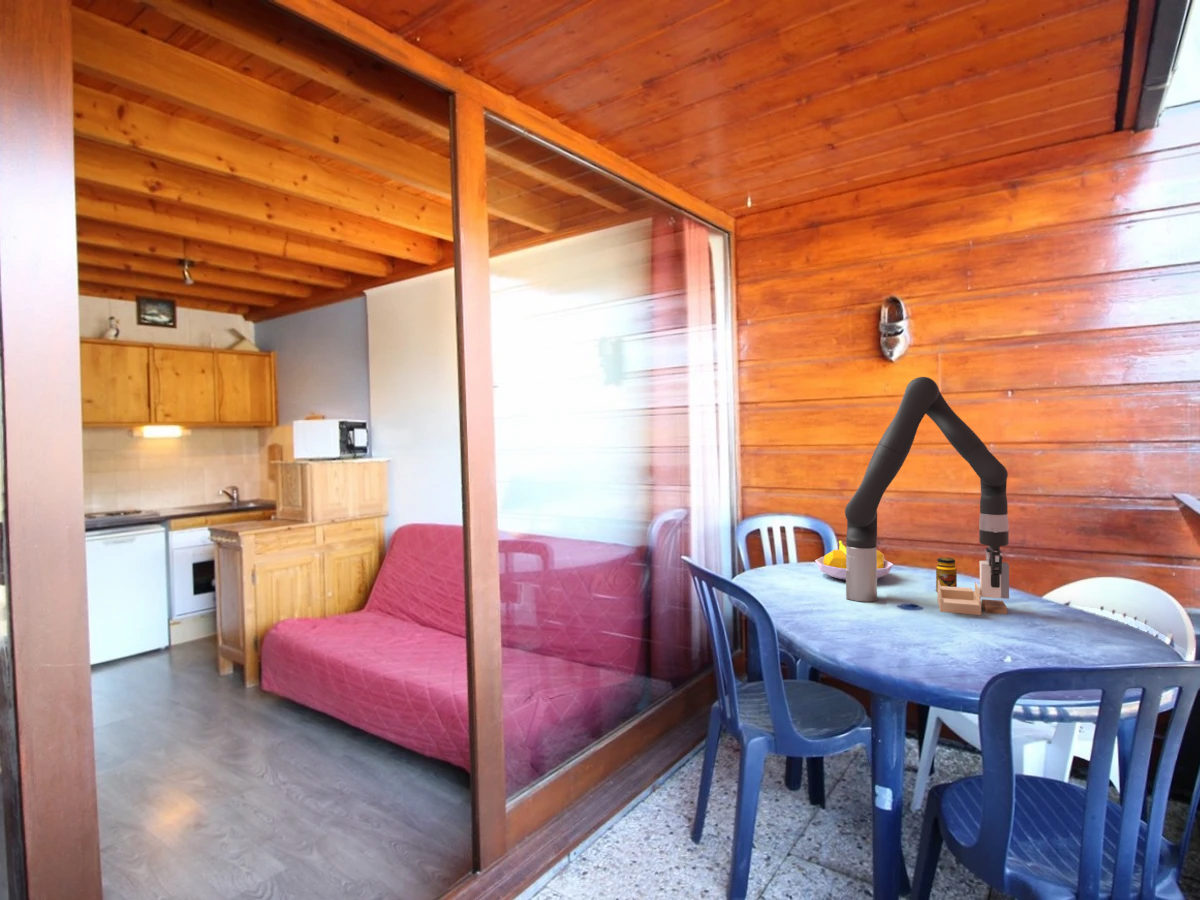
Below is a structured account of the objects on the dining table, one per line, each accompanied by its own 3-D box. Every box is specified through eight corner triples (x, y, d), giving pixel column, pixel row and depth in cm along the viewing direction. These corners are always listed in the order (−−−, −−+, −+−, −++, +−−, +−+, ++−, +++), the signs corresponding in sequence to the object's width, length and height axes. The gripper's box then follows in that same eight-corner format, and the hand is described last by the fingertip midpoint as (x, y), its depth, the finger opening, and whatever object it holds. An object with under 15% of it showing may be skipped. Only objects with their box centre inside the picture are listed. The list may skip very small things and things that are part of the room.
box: (981, 596, 193) (981, 563, 193) (979, 593, 197) (979, 560, 197) (1009, 598, 190) (1008, 565, 190) (1006, 595, 194) (1006, 562, 194)
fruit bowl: (895, 588, 224) (895, 555, 223) (813, 583, 233) (813, 552, 233) (890, 571, 250) (890, 541, 249) (817, 567, 260) (816, 539, 259)
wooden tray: (941, 617, 190) (941, 591, 189) (936, 599, 208) (936, 576, 208) (982, 620, 185) (982, 594, 185) (974, 602, 204) (974, 578, 204)
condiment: (947, 598, 210) (947, 561, 209) (925, 592, 218) (925, 557, 217) (963, 595, 213) (963, 559, 212) (941, 589, 220) (940, 554, 220)
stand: (985, 614, 191) (985, 605, 191) (981, 607, 199) (981, 599, 198) (1007, 616, 189) (1007, 607, 189) (1002, 608, 196) (1002, 600, 196)
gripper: (976, 524, 201) (976, 579, 202) (982, 531, 188) (982, 589, 189) (1004, 525, 198) (1004, 580, 199) (1012, 532, 185) (1012, 592, 186)
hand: (994, 584), depth 194 cm, fingers closed on box, 4 cm apart
